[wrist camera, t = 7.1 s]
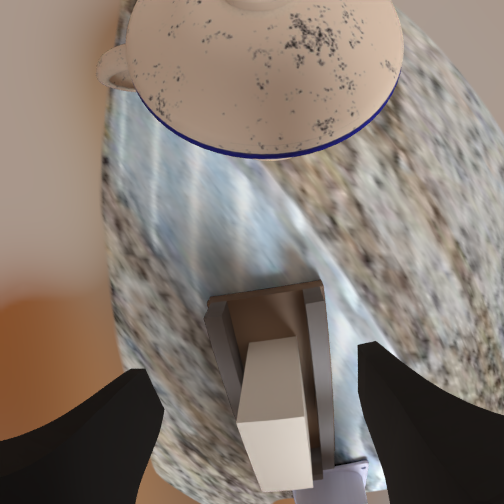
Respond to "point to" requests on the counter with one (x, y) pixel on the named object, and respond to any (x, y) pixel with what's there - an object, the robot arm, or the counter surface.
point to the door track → (276, 327)
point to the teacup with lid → (259, 70)
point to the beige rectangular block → (275, 416)
